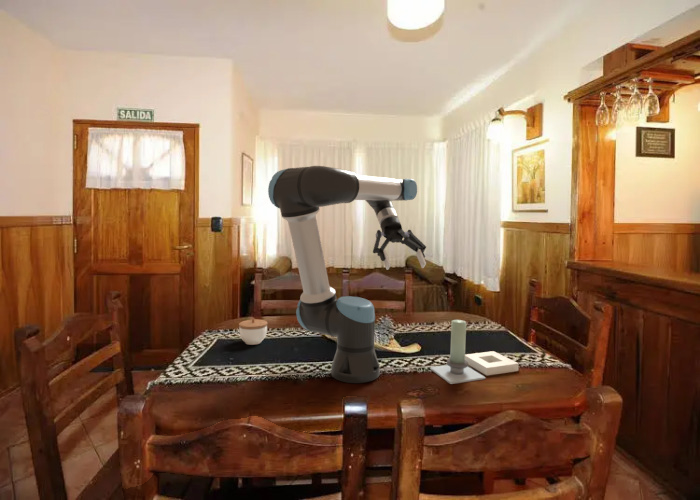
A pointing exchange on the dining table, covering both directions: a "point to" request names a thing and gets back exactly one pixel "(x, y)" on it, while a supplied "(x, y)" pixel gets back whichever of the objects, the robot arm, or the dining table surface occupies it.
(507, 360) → the socket block
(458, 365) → the candle in holder
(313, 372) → the dining table surface
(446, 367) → the mat
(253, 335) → the lidded jar
